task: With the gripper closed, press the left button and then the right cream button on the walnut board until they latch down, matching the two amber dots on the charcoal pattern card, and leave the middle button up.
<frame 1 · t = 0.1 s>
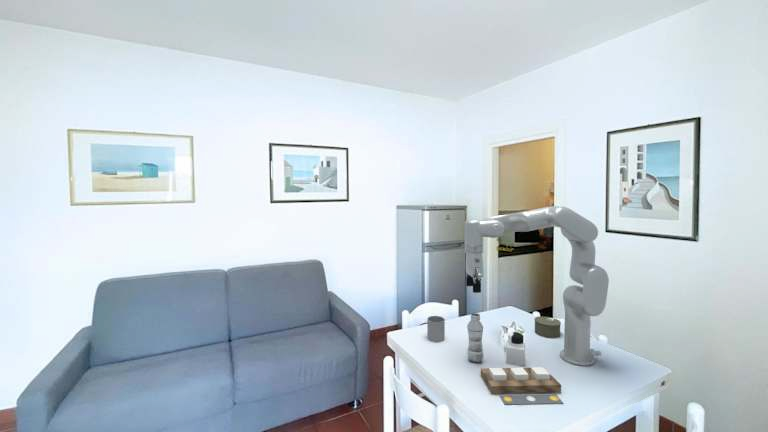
hand: (473, 289, 136), 31 cm above the table, tool pointing down, fingers open, 9 cm apart
button middle: (519, 374, 119), point 3 cm above the table, slide at 0.0 cm
medicine bottle: (515, 361, 137), on the table
button 2: (540, 374, 120), point 4 cm above the table, slide at 0.0 cm
can: (547, 334, 164), on the table
cup: (436, 339, 159), on the table
button board: (518, 384, 120), on the table
pattern card: (530, 399, 110), on the table
plastic bottle: (475, 360, 137), on the table
button 1: (497, 375, 119), point 4 cm above the table, slide at 0.0 cm
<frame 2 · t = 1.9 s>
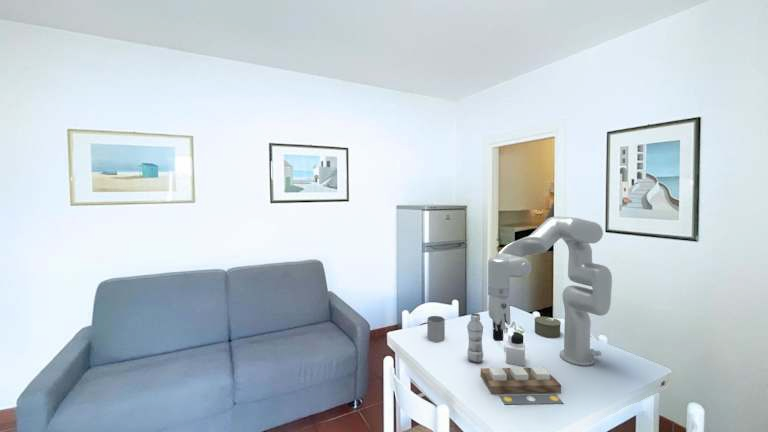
hand: (498, 339, 119), 17 cm above the table, tool pointing down, fingers closed
nothing on the table moved.
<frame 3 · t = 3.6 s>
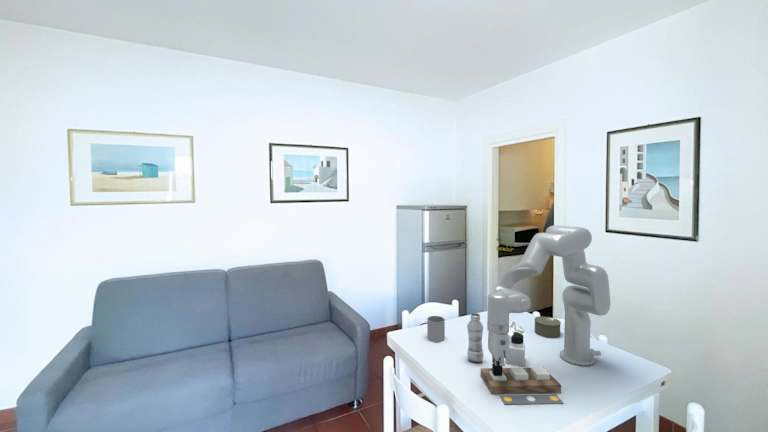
hand: (497, 374, 119), 4 cm above the table, tool pointing down, fingers closed
button 1: (497, 378, 119), point 2 cm above the table, slide at 1.2 cm, touching gripper
everything else where it was.
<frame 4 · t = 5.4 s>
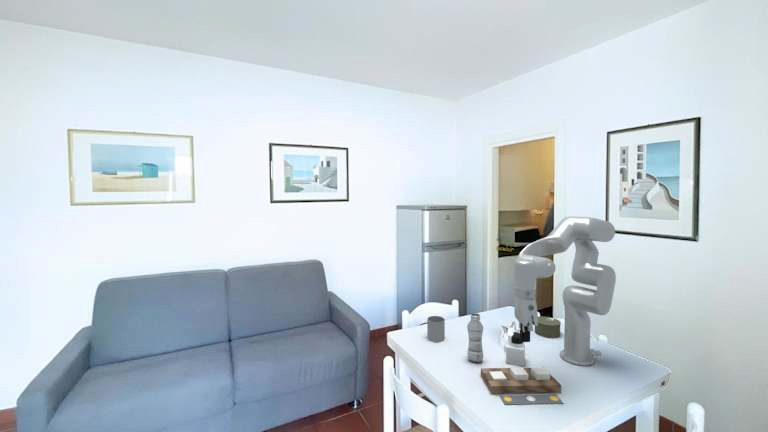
hand: (525, 341, 119), 16 cm above the table, tool pointing down, fingers closed
button 1: (497, 378, 119), point 2 cm above the table, slide at 1.3 cm
everything else where it was.
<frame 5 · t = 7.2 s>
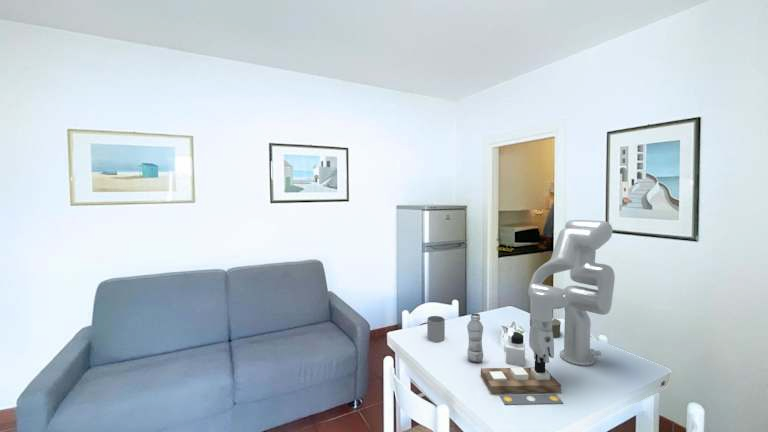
hand: (539, 371, 119), 5 cm above the table, tool pointing down, fingers closed
button 2: (540, 375, 120), point 3 cm above the table, slide at 0.3 cm, touching gripper
everything else where it was.
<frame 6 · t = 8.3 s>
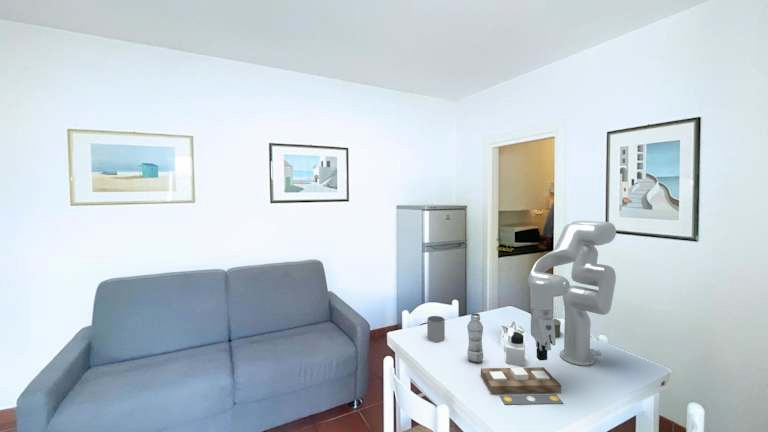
hand: (542, 359, 120), 9 cm above the table, tool pointing down, fingers closed
button 2: (540, 378, 120), point 2 cm above the table, slide at 1.4 cm
everything else where it was.
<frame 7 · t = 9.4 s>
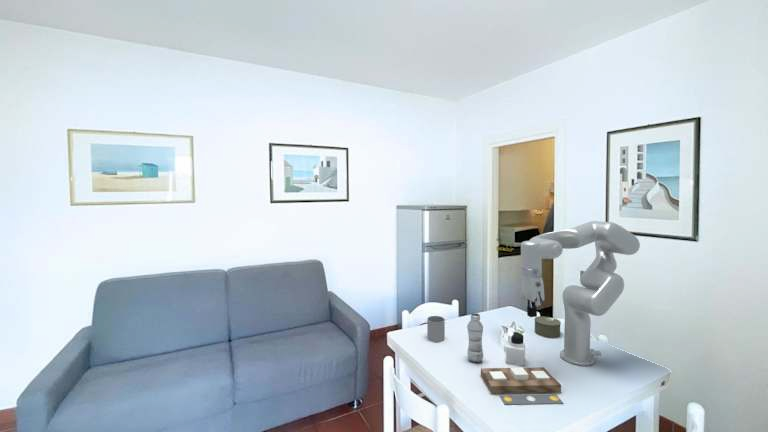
hand: (532, 316, 130), 22 cm above the table, tool pointing down, fingers closed
nothing on the table moved.
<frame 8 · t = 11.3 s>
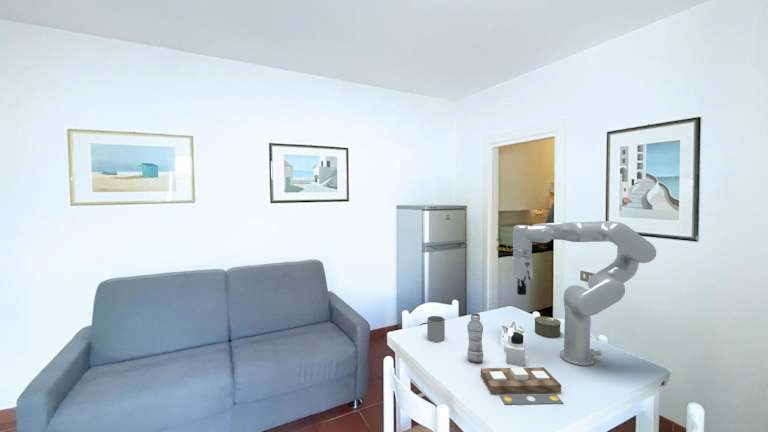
hand: (521, 294, 141), 27 cm above the table, tool pointing down, fingers closed
nothing on the table moved.
at the end: button 1 slide at 1.3 cm; button 2 slide at 1.4 cm; button middle slide at 0.0 cm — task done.
